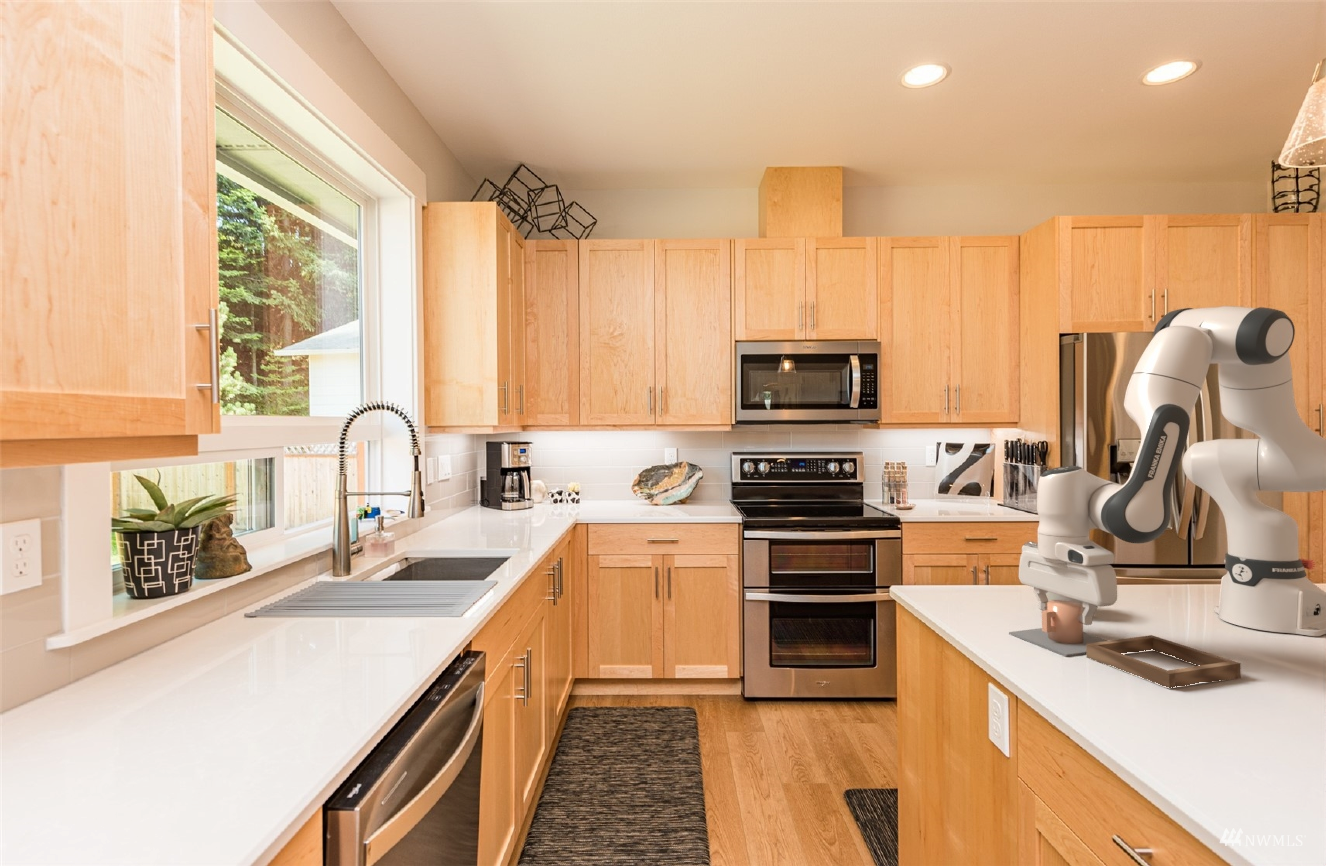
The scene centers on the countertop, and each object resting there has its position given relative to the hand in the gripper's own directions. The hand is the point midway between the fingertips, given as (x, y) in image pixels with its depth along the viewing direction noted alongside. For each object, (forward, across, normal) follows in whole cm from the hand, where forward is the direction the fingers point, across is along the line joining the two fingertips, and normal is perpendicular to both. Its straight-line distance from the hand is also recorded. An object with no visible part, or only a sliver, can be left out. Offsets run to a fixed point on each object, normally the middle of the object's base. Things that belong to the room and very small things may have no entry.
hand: (1064, 617), depth 129 cm
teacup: (+5, -16, +17) cm, 24 cm away
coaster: (+5, 0, 0) cm, 5 cm away
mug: (+4, 0, 0) cm, 4 cm away
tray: (+5, +16, +4) cm, 17 cm away
